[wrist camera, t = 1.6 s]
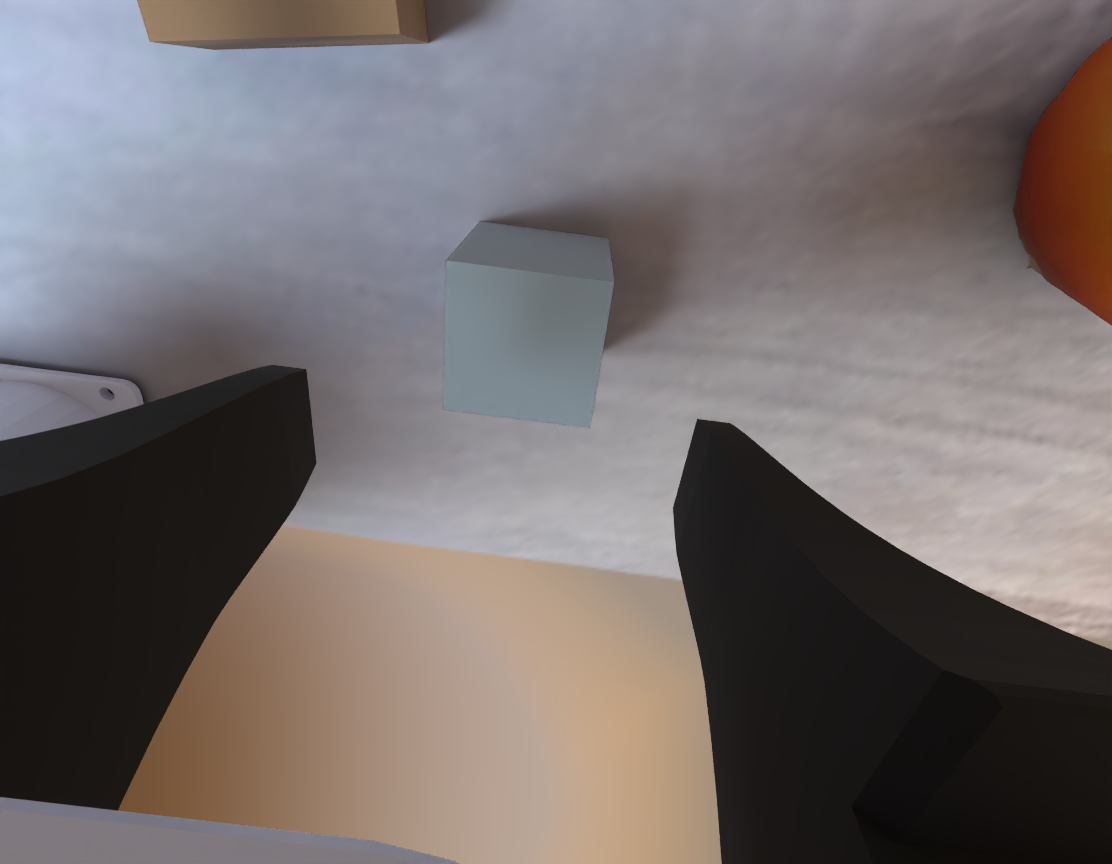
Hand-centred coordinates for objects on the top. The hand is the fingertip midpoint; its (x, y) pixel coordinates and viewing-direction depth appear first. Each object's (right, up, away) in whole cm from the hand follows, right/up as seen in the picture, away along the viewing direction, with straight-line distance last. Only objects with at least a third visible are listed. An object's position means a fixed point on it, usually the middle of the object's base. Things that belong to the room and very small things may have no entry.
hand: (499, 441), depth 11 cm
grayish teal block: (+1, +5, +8) cm, 10 cm away
